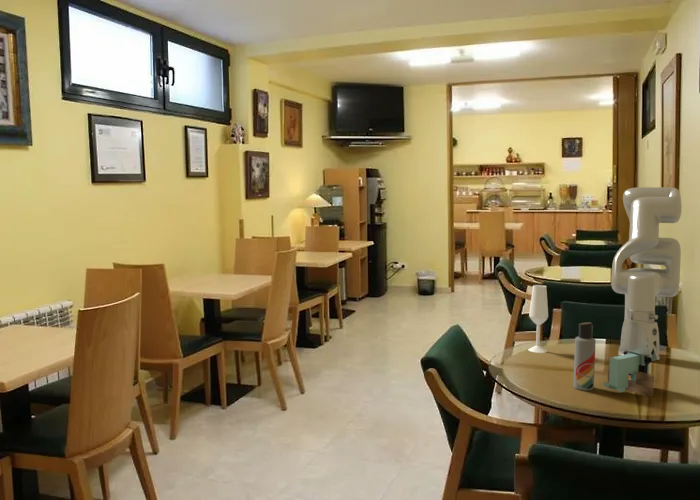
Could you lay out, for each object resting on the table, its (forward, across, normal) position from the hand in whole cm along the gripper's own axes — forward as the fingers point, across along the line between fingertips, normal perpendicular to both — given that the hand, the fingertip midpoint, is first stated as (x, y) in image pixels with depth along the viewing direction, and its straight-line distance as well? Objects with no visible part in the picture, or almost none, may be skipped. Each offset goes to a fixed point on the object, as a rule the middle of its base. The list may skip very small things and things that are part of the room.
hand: (637, 375), depth 185 cm
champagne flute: (+4, +45, -7) cm, 46 cm away
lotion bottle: (+4, +8, +14) cm, 17 cm away
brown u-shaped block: (+4, 0, +3) cm, 5 cm away
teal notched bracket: (+2, 0, +4) cm, 4 cm away
